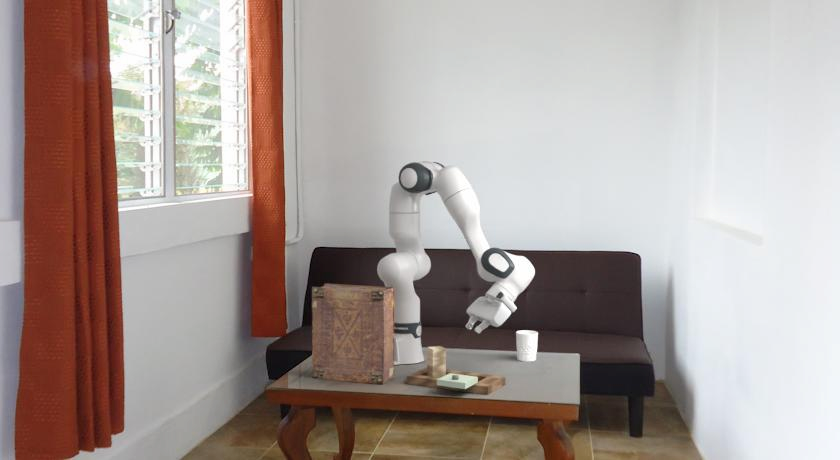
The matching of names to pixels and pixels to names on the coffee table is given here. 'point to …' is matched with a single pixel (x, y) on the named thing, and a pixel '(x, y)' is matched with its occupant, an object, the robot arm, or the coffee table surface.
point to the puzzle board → (482, 387)
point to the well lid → (457, 381)
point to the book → (353, 333)
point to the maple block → (436, 361)
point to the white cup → (526, 345)
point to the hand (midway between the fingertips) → (471, 330)
